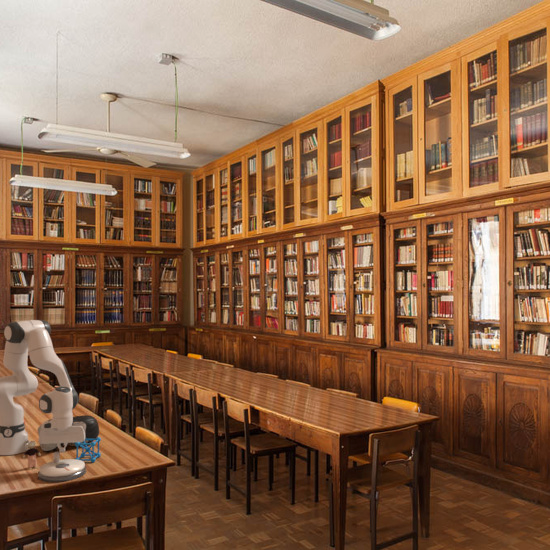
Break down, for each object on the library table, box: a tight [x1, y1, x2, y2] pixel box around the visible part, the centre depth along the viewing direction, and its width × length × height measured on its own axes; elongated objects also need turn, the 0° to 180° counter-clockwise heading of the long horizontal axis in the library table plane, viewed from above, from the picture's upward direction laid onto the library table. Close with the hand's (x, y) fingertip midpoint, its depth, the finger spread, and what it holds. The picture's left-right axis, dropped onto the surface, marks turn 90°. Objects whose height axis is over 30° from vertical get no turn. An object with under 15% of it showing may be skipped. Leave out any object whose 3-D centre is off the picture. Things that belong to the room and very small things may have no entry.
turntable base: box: [37, 465, 87, 483], centre depth 237 cm, size 20×20×2 cm
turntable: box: [38, 451, 86, 477], centre depth 237 cm, size 19×19×6 cm
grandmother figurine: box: [22, 440, 42, 471], centre depth 245 cm, size 8×4×13 cm, turn 139°
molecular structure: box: [74, 436, 102, 464], centre depth 257 cm, size 10×10×10 cm
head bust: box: [37, 414, 100, 453], centre depth 279 cm, size 22×17×30 cm
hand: (62, 452), depth 245 cm, fingers closed
